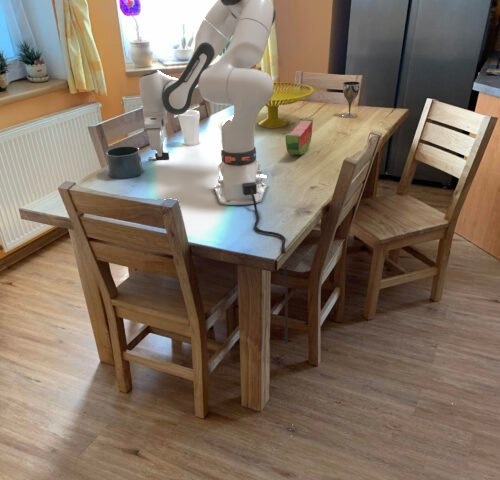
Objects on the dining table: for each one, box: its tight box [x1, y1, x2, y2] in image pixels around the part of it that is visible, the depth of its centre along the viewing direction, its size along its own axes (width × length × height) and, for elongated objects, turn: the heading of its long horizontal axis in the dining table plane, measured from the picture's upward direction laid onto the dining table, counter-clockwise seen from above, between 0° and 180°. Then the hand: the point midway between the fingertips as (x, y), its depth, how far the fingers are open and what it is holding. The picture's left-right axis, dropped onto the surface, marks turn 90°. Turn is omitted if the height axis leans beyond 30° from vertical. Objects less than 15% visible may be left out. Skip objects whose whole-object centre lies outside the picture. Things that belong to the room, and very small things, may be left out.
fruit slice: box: [285, 117, 314, 156], centre depth 214 cm, size 26×6×10 cm, turn 162°
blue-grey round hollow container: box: [105, 145, 144, 180], centre depth 201 cm, size 13×13×8 cm
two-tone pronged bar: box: [147, 150, 170, 162], centre depth 205 cm, size 8×3×3 cm, turn 91°
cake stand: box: [258, 81, 315, 129], centre depth 249 cm, size 40×40×15 cm
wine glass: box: [341, 81, 361, 118], centre depth 256 cm, size 8×8×15 cm
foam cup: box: [177, 109, 201, 147], centre depth 228 cm, size 10×9×13 cm
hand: (160, 154), depth 205 cm, fingers closed on two-tone pronged bar, 2 cm apart
